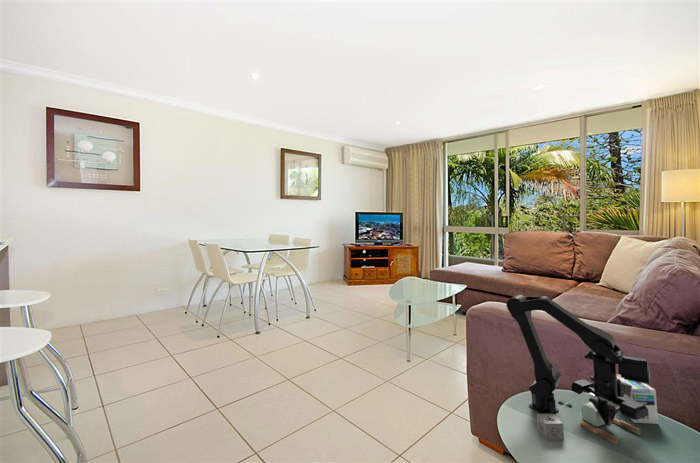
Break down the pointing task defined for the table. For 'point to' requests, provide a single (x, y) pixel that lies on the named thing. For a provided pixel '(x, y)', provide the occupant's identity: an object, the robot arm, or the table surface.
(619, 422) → the pair of wooden sticks
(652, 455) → the table surface
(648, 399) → the light bulb box
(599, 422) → the sage block
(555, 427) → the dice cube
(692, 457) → the table surface
